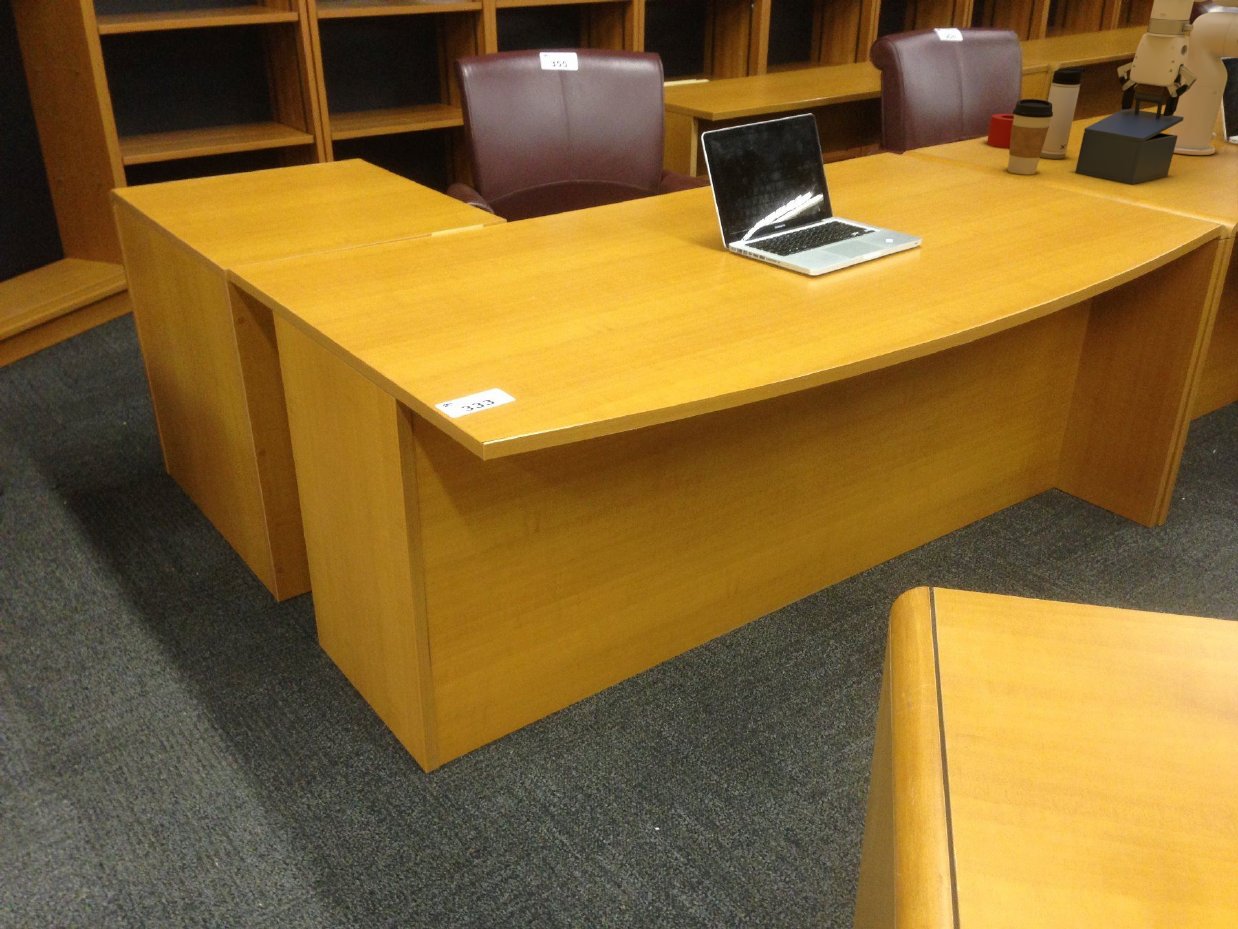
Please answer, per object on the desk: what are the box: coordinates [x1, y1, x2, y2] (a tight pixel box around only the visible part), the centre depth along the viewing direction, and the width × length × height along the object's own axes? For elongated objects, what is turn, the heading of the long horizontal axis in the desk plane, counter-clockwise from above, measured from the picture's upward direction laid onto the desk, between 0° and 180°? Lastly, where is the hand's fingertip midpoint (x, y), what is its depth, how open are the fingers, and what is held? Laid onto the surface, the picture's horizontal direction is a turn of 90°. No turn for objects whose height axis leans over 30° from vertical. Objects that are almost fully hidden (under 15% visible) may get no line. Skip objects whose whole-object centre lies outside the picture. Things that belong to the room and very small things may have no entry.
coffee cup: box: [1007, 98, 1053, 176], centre depth 231 cm, size 8×8×15 cm
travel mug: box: [1040, 67, 1086, 160], centre depth 246 cm, size 6×7×20 cm
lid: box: [1083, 91, 1184, 142], centre depth 228 cm, size 15×14×6 cm
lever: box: [986, 113, 1014, 149], centre depth 259 cm, size 18×9×7 cm, turn 59°
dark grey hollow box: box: [1075, 132, 1178, 185], centre depth 232 cm, size 15×14×9 cm
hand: (1146, 112), depth 231 cm, fingers open, 9 cm apart
